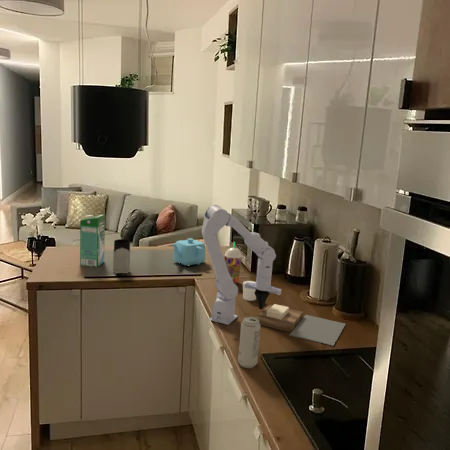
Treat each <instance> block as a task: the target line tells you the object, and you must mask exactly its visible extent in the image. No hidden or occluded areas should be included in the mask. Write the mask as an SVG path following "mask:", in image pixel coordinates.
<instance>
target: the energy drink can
mask: <svg viewBox="0 0 450 450" xmlns="http://www.w3.org/2000/svg"><path fill="white" fill-rule="evenodd" d="M256 317H257V316H245V317H243V319H242V322H241V323H240V334H239V346H238V347H239V348H238V355H237V356H238V357H237V358H238V360H237V362H238V363H239V366H240V367H242V368H245V369H253V368H254V367H256V365H257V364H258V360H259V359H258V357H259V348H260V337H261V326H262V325H260V323H259V319H258V318H256Z"/></svg>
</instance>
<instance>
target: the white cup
mask: <svg viewBox="0 0 450 450" xmlns="http://www.w3.org/2000/svg"><path fill="white" fill-rule="evenodd" d="M246 282H250V283H256V280H255V281H254V280H243V282H242V299H243V300H245V301H248V302H249V301H250V302H251V301H253V302H254V301H257V298H256V296H255V294H254V292H255V291H256V290H255V289H251V288H245V283H246Z"/></svg>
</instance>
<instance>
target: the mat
mask: <svg viewBox="0 0 450 450" xmlns="http://www.w3.org/2000/svg"><path fill="white" fill-rule="evenodd" d="M346 325H347V324H346V323H345V322H339V321H335V320H331V319H327V318H322V317H318V316H317V317H316V316H313V315H309V314H305V315H304V316H303V318H302V319H301V320H300V321H299V323H298V324H297V325H296V326H295V327H294V329H293V330H292V331H291V332H289V336H290V337H294V338H297V339H301V340H306V341H311V342H315V343H319V344H322V343H323V344H322V345H326V344H327V345H326V346H330V345H331V346H330V347H334V346H335V344H336V343H335V342H337V340H338V338H339V337H340V336H341V334H342V332H343V331H344V328H345V326H346Z"/></svg>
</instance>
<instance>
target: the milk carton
mask: <svg viewBox="0 0 450 450" xmlns="http://www.w3.org/2000/svg"><path fill="white" fill-rule="evenodd" d="M79 222H80V224H79V227H80V229H79V231H80V232H79V237H80V238H79V239H80V240H79V246H80V247H79V265H80V266H84V267H93V266H95V267H94V268H98V267H99V266H101V265H102V264H104V263H105V244H106V243H105V241H106V239H105V236H106V230H105V229H106V214H99V215H94V214H89V215H85V218H83V219H80V221H79ZM103 262H104V263H103Z"/></svg>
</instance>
